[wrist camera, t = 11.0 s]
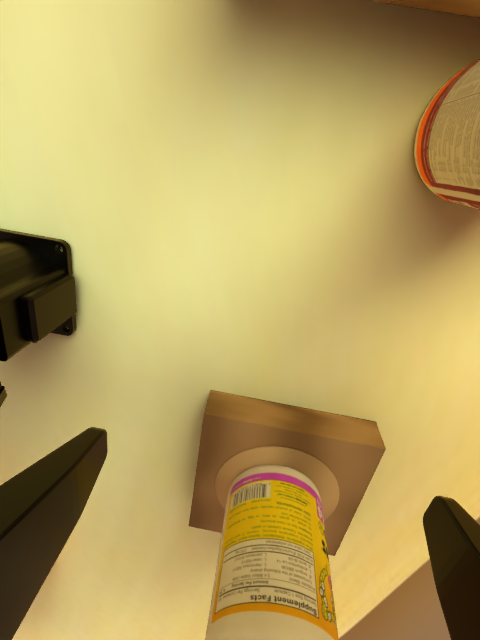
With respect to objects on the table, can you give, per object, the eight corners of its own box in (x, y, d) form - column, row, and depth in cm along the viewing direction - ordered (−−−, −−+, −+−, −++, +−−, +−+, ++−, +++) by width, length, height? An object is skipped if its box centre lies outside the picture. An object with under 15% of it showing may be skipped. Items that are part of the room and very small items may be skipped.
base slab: (195, 498, 30) (188, 527, 27) (211, 390, 24) (203, 414, 22) (330, 525, 29) (334, 557, 27) (375, 421, 24) (386, 450, 22)
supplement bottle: (301, 531, 26) (318, 827, 15) (219, 508, 26) (170, 787, 14) (335, 475, 23) (389, 789, 12) (242, 448, 23) (204, 738, 11)
